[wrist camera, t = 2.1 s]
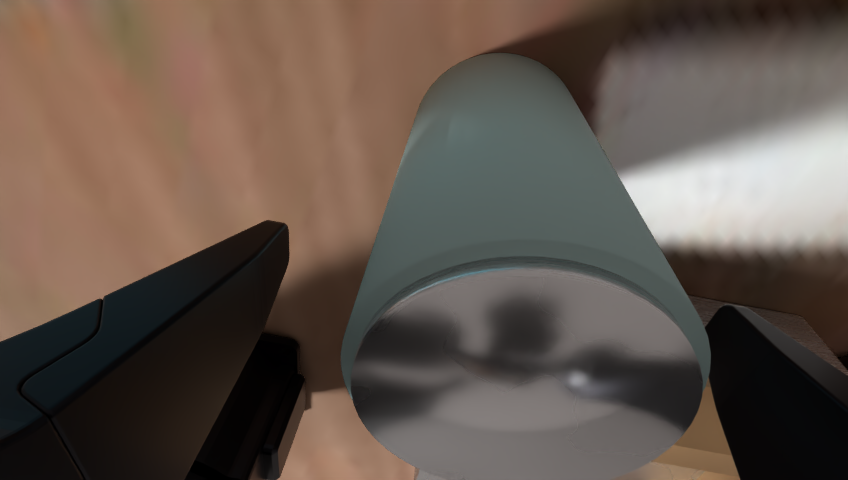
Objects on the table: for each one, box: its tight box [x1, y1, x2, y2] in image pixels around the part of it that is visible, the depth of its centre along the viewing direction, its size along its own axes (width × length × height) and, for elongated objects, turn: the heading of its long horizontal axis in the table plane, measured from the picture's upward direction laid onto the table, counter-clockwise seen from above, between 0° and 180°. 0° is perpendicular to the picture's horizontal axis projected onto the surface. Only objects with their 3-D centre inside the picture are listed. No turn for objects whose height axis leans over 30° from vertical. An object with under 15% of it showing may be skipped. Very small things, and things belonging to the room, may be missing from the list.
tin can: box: [341, 53, 711, 480], centre depth 11 cm, size 6×6×10 cm
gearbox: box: [414, 295, 848, 480], centre depth 19 cm, size 14×13×6 cm
